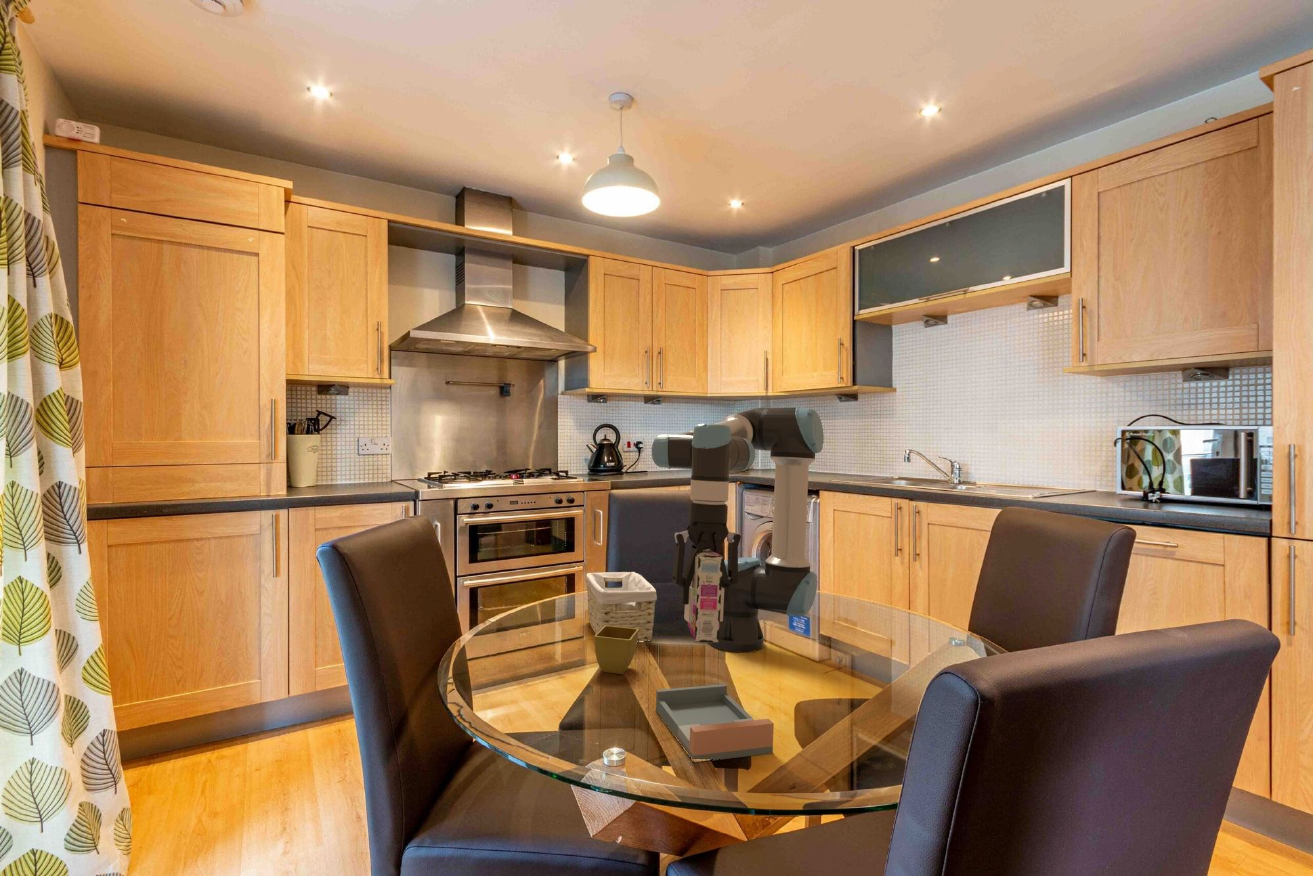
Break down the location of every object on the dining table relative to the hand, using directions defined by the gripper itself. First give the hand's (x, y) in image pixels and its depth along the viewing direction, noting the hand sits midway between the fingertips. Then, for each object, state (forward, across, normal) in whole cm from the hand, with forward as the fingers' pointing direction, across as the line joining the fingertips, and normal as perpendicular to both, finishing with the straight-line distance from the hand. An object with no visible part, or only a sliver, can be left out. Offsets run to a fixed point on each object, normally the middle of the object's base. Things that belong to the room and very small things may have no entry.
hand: (703, 619), depth 123 cm
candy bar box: (+3, 0, 0) cm, 3 cm away
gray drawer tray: (+20, 0, +5) cm, 20 cm away
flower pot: (+20, +10, -29) cm, 36 cm away
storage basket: (+19, +3, -58) cm, 61 cm away
